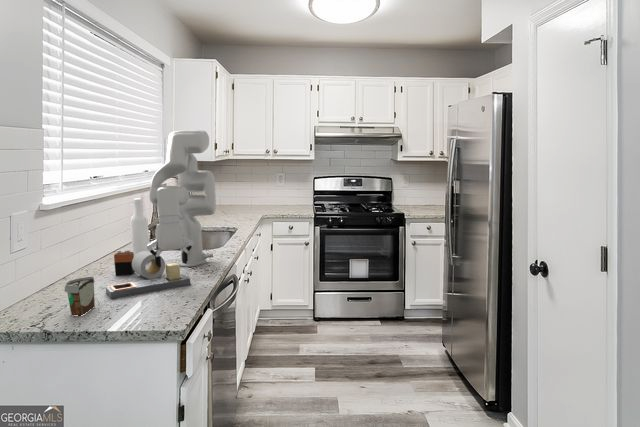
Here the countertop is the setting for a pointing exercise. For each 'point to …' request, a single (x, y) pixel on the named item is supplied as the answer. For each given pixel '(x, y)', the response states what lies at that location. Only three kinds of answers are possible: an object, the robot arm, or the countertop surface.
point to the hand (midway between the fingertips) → (172, 265)
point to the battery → (123, 263)
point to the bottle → (139, 229)
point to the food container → (80, 295)
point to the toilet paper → (140, 265)
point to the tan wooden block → (172, 271)
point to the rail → (145, 286)
